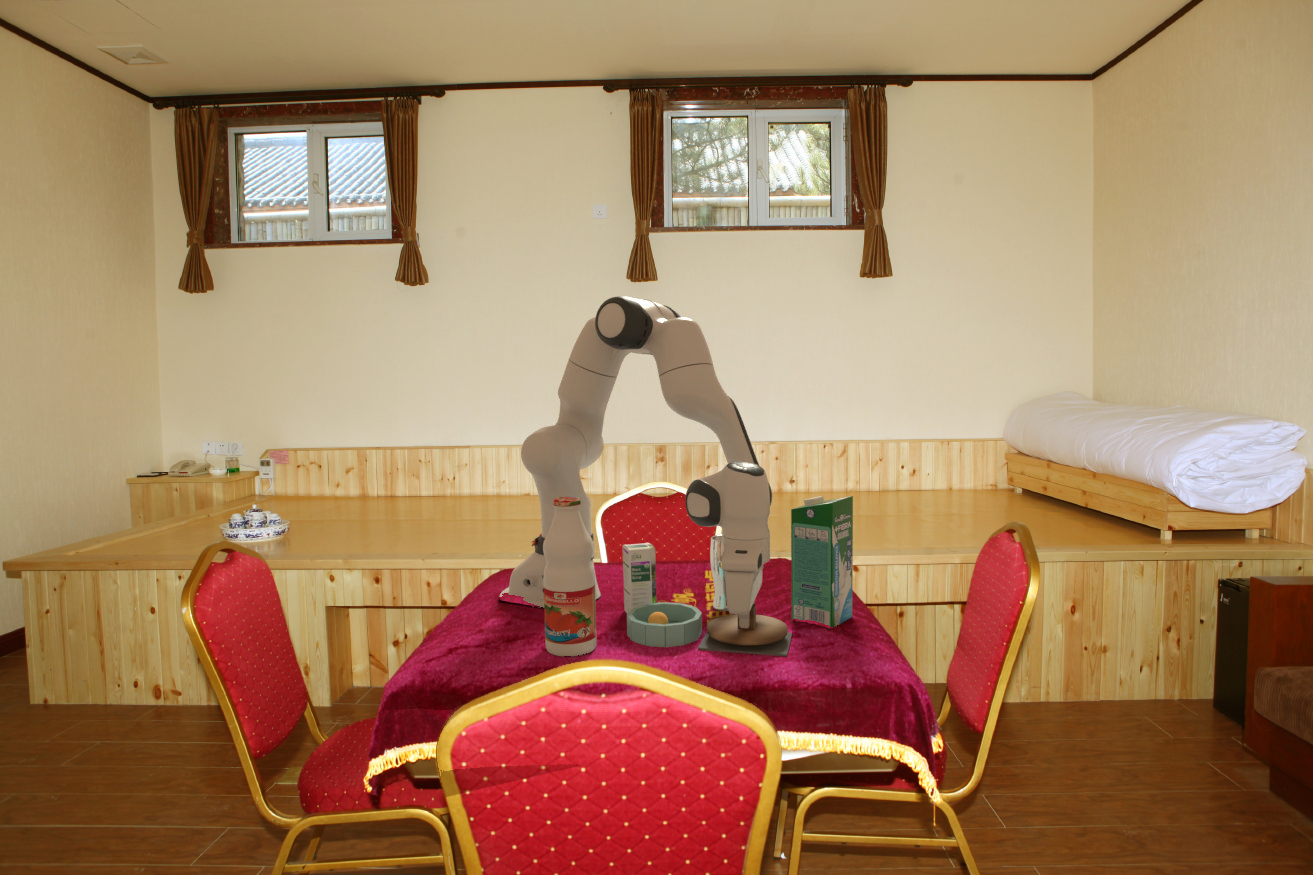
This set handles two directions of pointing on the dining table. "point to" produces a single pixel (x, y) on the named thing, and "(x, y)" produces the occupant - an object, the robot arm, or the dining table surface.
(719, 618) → the lid
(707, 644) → the mat
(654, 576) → the syrup box
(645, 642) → the bowl
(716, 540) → the chrome tumbler
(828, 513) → the milk carton
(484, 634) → the dining table surface
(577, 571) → the fruit juice
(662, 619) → the tangerine
